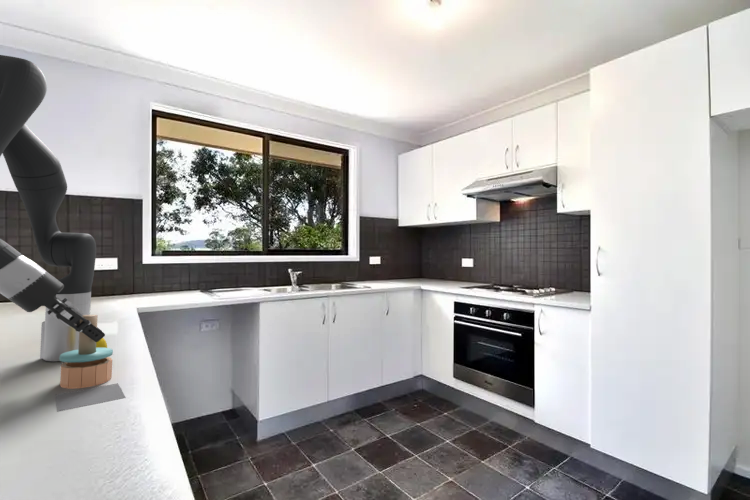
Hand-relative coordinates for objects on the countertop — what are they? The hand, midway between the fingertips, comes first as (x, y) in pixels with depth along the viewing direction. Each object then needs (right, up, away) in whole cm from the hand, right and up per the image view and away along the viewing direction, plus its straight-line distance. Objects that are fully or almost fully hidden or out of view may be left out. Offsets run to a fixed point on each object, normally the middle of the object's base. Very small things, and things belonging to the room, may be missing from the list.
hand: (99, 336), depth 80 cm
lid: (-2, -4, -2) cm, 5 cm away
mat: (+5, -10, -9) cm, 15 cm away
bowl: (-2, -10, -2) cm, 10 cm away
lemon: (-9, -10, +9) cm, 16 cm away
